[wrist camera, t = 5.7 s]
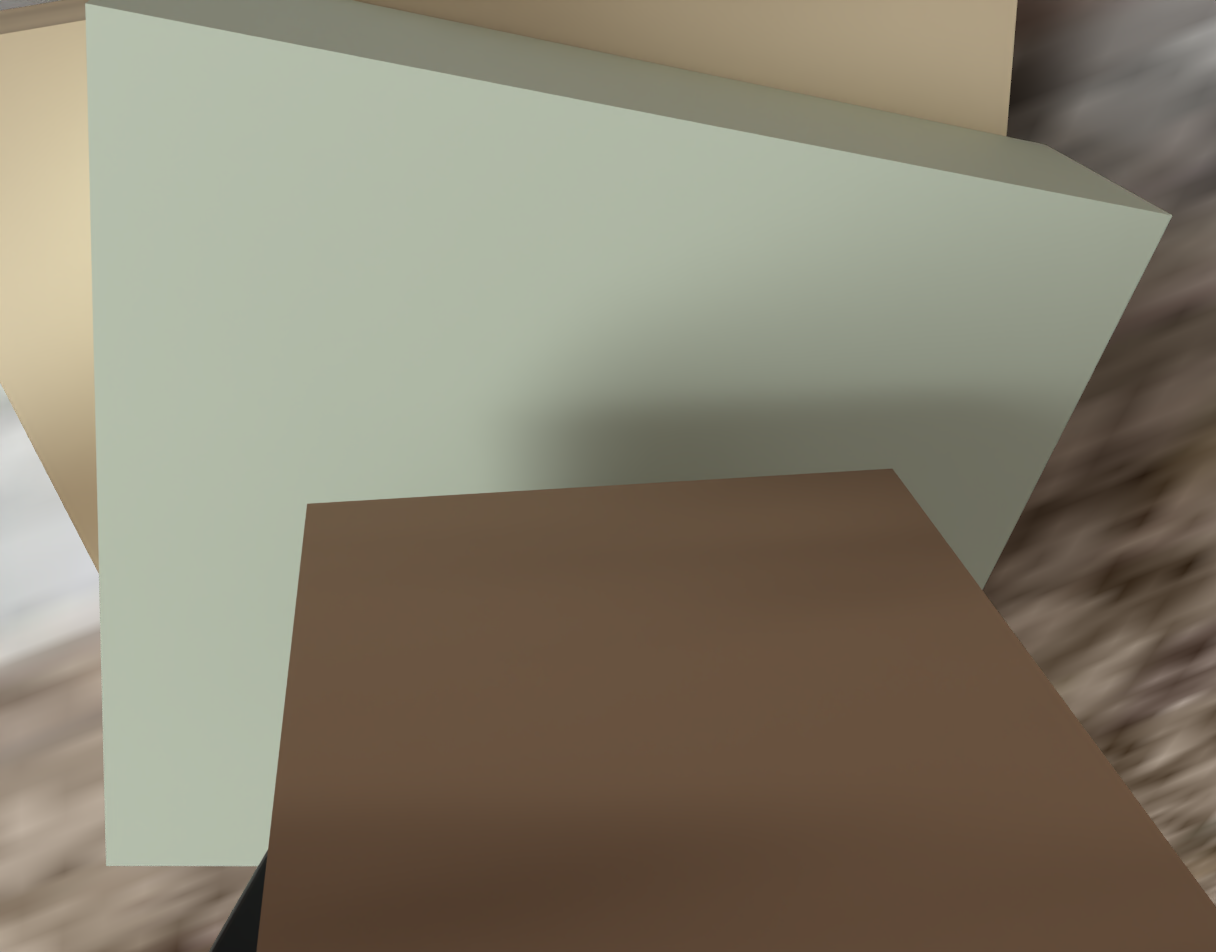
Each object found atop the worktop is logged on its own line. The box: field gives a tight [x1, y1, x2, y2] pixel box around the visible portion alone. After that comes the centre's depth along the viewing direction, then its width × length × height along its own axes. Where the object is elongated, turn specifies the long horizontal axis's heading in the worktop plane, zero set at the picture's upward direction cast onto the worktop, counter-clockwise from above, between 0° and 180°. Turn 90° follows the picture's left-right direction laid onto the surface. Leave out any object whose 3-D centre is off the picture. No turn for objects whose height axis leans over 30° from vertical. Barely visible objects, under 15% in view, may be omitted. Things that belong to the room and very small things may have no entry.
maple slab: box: [0, 0, 1017, 573], centre depth 15 cm, size 12×12×2 cm
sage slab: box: [85, 0, 1173, 866], centre depth 13 cm, size 10×10×2 cm
